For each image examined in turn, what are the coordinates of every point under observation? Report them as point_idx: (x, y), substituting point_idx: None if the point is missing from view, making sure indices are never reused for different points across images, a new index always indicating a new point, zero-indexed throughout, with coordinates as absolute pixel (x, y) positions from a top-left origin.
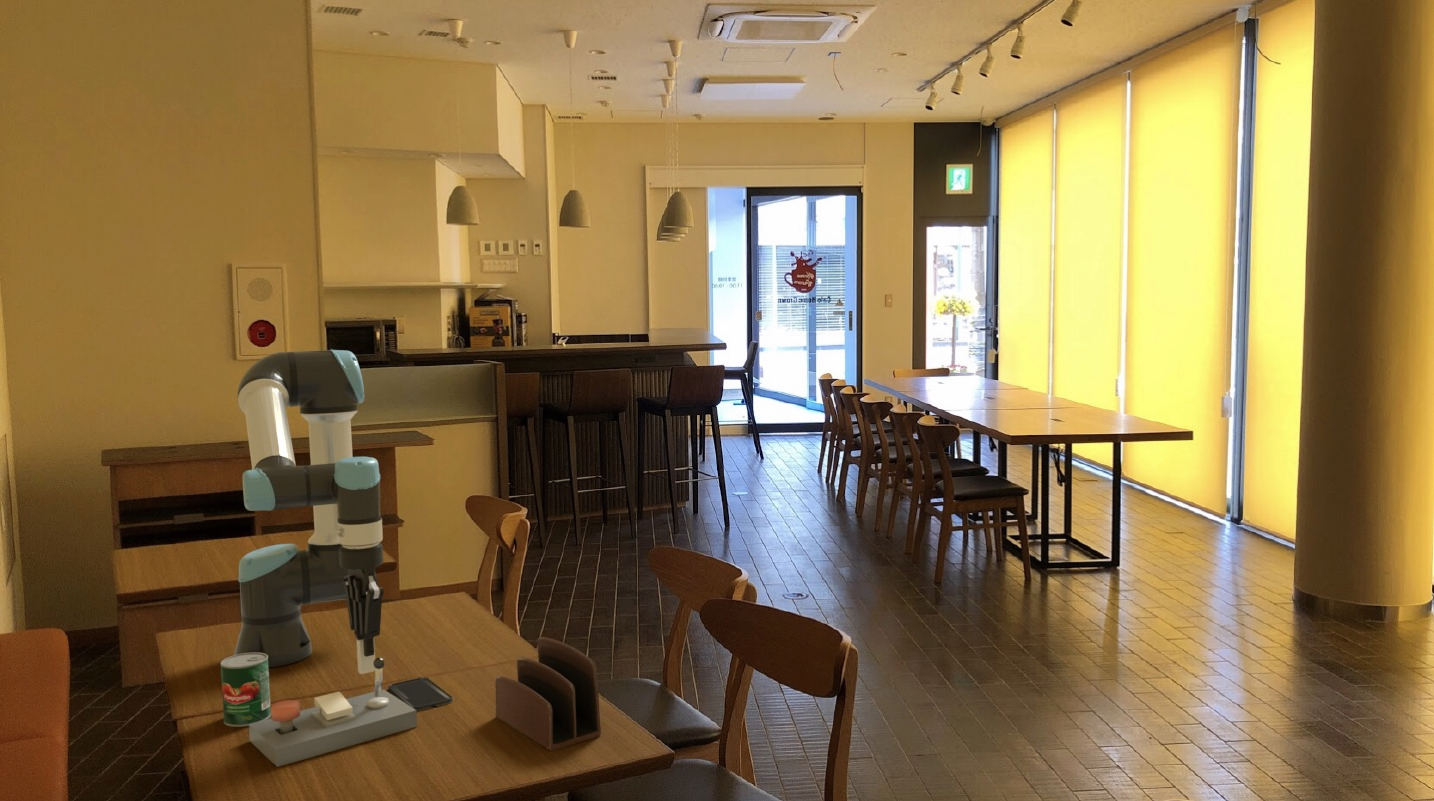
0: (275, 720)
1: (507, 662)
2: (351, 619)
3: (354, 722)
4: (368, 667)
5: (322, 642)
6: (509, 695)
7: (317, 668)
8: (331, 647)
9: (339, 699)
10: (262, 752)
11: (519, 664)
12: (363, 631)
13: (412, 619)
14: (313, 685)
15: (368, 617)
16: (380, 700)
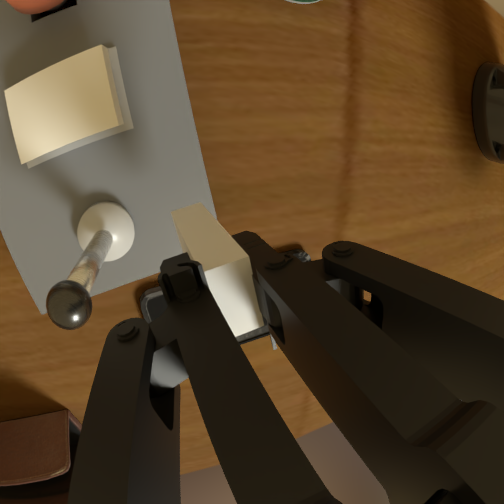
0: None
1: (302, 413)
2: (370, 274)
3: (7, 163)
4: (181, 244)
5: (498, 180)
6: (27, 457)
7: (448, 147)
8: (486, 186)
9: (69, 124)
10: None
11: None
12: (174, 329)
13: (486, 287)
14: (395, 118)
15: (79, 467)
16: None
